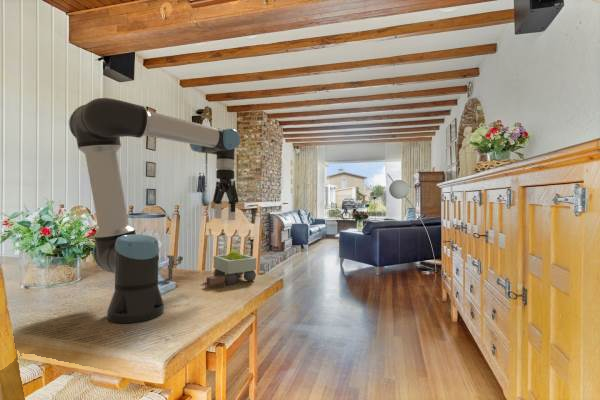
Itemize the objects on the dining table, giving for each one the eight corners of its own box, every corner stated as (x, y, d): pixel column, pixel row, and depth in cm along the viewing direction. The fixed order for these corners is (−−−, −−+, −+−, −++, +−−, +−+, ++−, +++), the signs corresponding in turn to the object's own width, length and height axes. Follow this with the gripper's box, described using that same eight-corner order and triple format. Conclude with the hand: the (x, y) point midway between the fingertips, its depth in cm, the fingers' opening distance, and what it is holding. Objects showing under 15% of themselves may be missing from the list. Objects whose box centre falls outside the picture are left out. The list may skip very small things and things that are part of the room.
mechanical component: (180, 279, 139) (180, 256, 139) (157, 279, 139) (157, 256, 139) (183, 278, 142) (183, 255, 142) (160, 277, 142) (160, 255, 142)
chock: (224, 286, 129) (225, 276, 129) (211, 289, 125) (211, 278, 125) (220, 284, 132) (220, 275, 132) (206, 287, 128) (206, 277, 128)
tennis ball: (239, 264, 145) (239, 249, 145) (244, 266, 139) (244, 251, 139) (224, 265, 141) (225, 250, 141) (229, 268, 135) (229, 252, 135)
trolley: (256, 281, 138) (257, 258, 138) (227, 285, 130) (227, 261, 130) (240, 274, 150) (241, 253, 150) (212, 278, 142) (212, 256, 142)
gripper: (247, 168, 130) (246, 220, 129) (221, 172, 149) (220, 217, 149) (230, 166, 125) (229, 220, 125) (205, 171, 145) (205, 218, 145)
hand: (224, 219), depth 137 cm, fingers open, 13 cm apart
